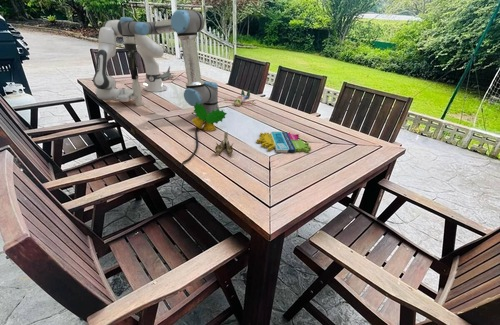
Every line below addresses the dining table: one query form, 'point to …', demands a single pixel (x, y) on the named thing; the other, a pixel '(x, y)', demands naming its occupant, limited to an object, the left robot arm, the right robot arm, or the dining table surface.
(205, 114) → the ornament
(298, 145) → the packaged gardening gloves
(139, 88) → the bottle
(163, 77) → the airplane
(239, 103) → the toy
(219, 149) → the jawbone
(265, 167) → the dining table surface
